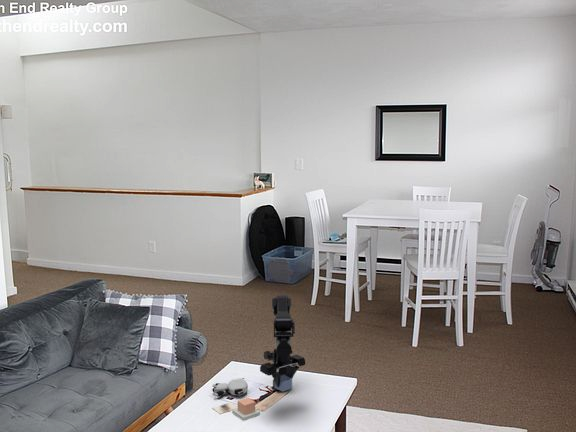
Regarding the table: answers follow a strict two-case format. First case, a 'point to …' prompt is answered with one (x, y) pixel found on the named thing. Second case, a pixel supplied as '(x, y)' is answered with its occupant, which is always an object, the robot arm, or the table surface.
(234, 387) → the robot toy
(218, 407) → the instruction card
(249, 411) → the terracotta brick
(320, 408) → the table surface
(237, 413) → the grey baseplate
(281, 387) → the navy brick
